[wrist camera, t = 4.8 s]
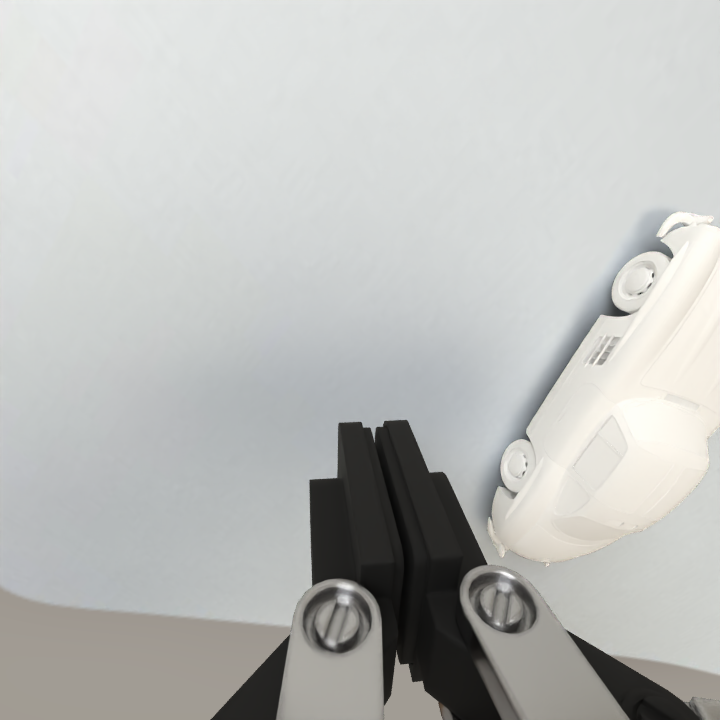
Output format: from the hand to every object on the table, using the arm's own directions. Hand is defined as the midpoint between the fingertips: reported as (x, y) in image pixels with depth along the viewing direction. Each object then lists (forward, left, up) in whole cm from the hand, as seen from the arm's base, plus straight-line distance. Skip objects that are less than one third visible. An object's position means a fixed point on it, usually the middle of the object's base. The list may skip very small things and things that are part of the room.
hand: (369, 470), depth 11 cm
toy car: (+8, 0, -3) cm, 9 cm away
